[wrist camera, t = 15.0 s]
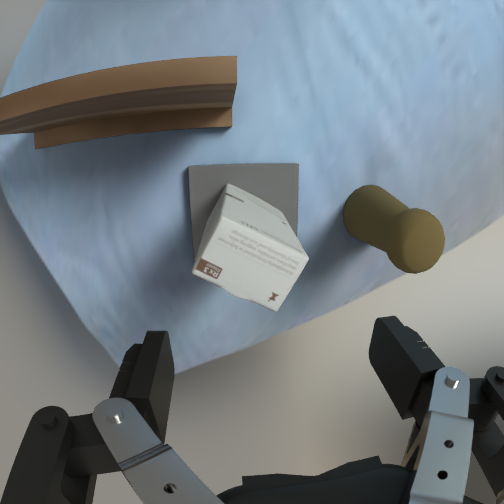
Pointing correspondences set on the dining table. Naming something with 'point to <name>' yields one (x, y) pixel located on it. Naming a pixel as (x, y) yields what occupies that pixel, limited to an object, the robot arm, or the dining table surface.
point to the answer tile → (248, 179)
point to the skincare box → (249, 249)
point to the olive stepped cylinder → (394, 228)
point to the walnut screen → (125, 101)
